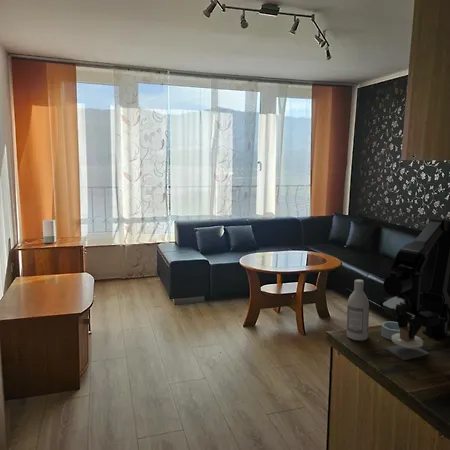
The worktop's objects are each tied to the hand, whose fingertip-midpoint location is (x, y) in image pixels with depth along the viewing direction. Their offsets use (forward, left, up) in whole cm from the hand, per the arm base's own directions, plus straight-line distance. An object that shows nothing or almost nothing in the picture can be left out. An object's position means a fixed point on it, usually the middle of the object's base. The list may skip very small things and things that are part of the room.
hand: (407, 336), depth 126 cm
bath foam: (+7, -15, -5) cm, 17 cm away
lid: (0, 0, -2) cm, 2 cm away
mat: (0, 0, -5) cm, 5 cm away
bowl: (-5, -11, -5) cm, 13 cm away
